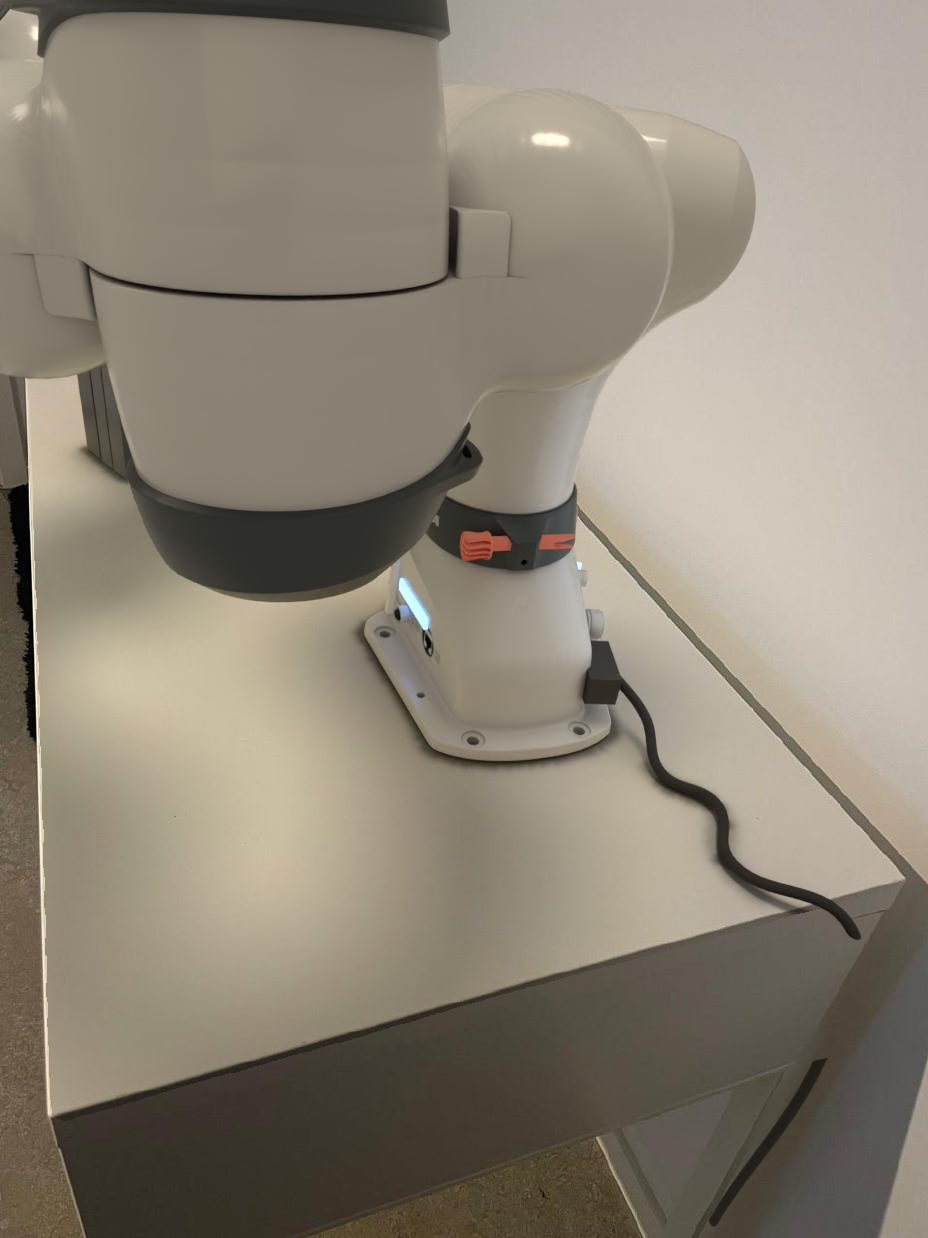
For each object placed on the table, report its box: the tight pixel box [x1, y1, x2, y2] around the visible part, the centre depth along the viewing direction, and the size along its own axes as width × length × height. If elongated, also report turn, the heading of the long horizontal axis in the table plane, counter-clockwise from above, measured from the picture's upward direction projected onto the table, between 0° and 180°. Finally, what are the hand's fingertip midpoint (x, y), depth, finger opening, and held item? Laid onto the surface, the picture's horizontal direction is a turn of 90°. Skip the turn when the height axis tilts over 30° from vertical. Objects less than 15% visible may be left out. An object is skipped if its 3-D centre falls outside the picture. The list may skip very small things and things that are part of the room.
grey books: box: [76, 364, 132, 481], centre depth 90 cm, size 8×10×13 cm
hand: (263, 305), depth 82 cm, fingers open, 8 cm apart
